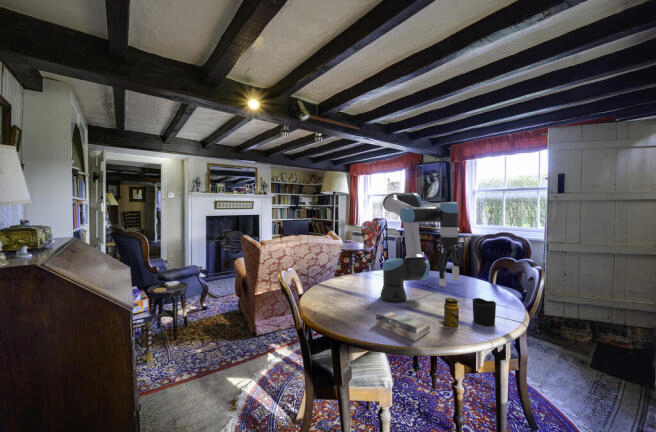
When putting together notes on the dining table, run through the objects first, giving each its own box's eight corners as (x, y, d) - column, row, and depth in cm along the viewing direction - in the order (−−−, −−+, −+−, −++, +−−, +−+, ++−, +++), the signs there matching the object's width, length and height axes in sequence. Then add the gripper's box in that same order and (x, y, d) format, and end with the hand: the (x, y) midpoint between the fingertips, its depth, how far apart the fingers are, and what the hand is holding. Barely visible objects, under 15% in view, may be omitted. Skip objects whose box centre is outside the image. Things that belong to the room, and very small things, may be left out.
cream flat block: (375, 325, 123) (375, 313, 122) (390, 317, 131) (390, 306, 131) (414, 341, 108) (414, 327, 108) (429, 331, 116) (429, 318, 116)
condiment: (460, 329, 117) (460, 302, 117) (439, 327, 120) (439, 301, 120) (458, 322, 124) (458, 297, 124) (438, 320, 127) (438, 295, 127)
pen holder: (487, 318, 129) (487, 297, 129) (500, 326, 120) (500, 304, 119) (468, 318, 129) (468, 298, 128) (480, 327, 119) (480, 305, 119)
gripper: (445, 239, 110) (445, 290, 110) (468, 234, 127) (468, 279, 127) (427, 237, 115) (428, 286, 116) (452, 233, 132) (452, 276, 133)
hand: (449, 282), depth 121 cm, fingers open, 13 cm apart
